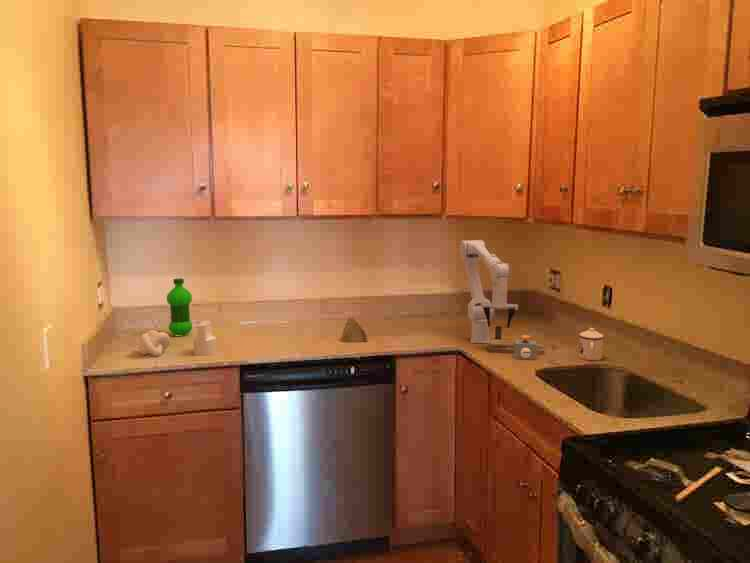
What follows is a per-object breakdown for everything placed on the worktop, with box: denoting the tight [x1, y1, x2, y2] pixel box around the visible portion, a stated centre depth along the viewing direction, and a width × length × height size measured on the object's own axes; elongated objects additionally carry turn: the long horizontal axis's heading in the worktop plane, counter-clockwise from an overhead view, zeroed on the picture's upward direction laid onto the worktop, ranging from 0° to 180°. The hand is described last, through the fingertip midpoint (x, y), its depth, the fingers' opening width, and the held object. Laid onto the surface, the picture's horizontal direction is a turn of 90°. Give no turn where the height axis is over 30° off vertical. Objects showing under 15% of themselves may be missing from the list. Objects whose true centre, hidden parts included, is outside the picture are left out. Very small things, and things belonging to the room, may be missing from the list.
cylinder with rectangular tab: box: [192, 320, 218, 357], centre depth 248 cm, size 9×9×12 cm
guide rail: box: [489, 342, 543, 348], centre depth 254 cm, size 2×21×1 cm, turn 81°
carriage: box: [489, 325, 507, 347], centre depth 254 cm, size 6×6×8 cm
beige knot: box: [138, 329, 171, 357], centre depth 247 cm, size 11×12×9 cm
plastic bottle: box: [166, 278, 193, 337], centre depth 276 cm, size 10×10×25 cm
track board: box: [487, 343, 546, 355], centre depth 254 cm, size 9×22×2 cm, turn 81°
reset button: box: [520, 334, 531, 343], centre depth 243 cm, size 4×4×2 cm
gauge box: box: [513, 339, 537, 360], centre depth 244 cm, size 7×8×6 cm
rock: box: [340, 317, 368, 343], centre depth 267 cm, size 11×9×10 cm
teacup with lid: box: [578, 327, 605, 361], centre depth 242 cm, size 12×9×12 cm
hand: (498, 326), depth 254 cm, fingers open, 7 cm apart
